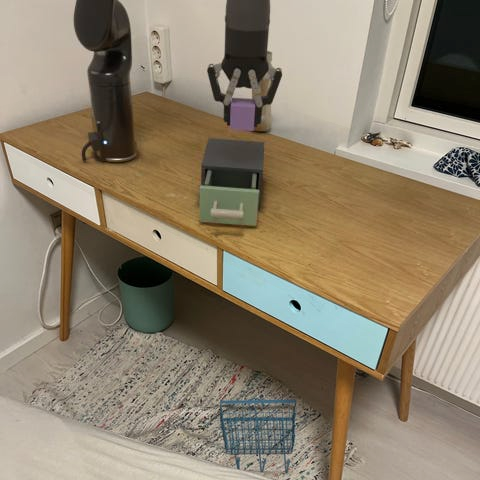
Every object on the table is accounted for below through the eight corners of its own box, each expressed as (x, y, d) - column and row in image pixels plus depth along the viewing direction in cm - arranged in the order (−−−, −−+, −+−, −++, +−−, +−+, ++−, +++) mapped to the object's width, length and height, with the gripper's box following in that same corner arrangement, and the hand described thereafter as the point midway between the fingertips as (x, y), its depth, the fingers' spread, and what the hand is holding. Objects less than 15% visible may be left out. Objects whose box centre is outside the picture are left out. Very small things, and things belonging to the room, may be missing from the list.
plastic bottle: (269, 135, 140) (276, 56, 127) (245, 132, 141) (250, 53, 128) (272, 127, 145) (279, 50, 132) (249, 124, 146) (254, 48, 133)
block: (253, 131, 95) (255, 106, 92) (229, 129, 95) (230, 105, 92) (253, 122, 99) (255, 98, 96) (231, 121, 99) (231, 97, 96)
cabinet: (259, 210, 108) (263, 169, 102) (201, 205, 108) (201, 165, 102) (261, 180, 119) (264, 142, 113) (208, 176, 119) (208, 137, 113)
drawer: (255, 239, 97) (258, 204, 92) (196, 234, 97) (196, 200, 92) (258, 194, 111) (260, 163, 106) (206, 191, 111) (206, 159, 106)
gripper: (288, 22, 89) (278, 120, 100) (207, 16, 89) (206, 116, 100) (289, 31, 83) (279, 134, 94) (203, 25, 83) (203, 129, 94)
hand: (242, 124), depth 97 cm, fingers closed on block, 4 cm apart
